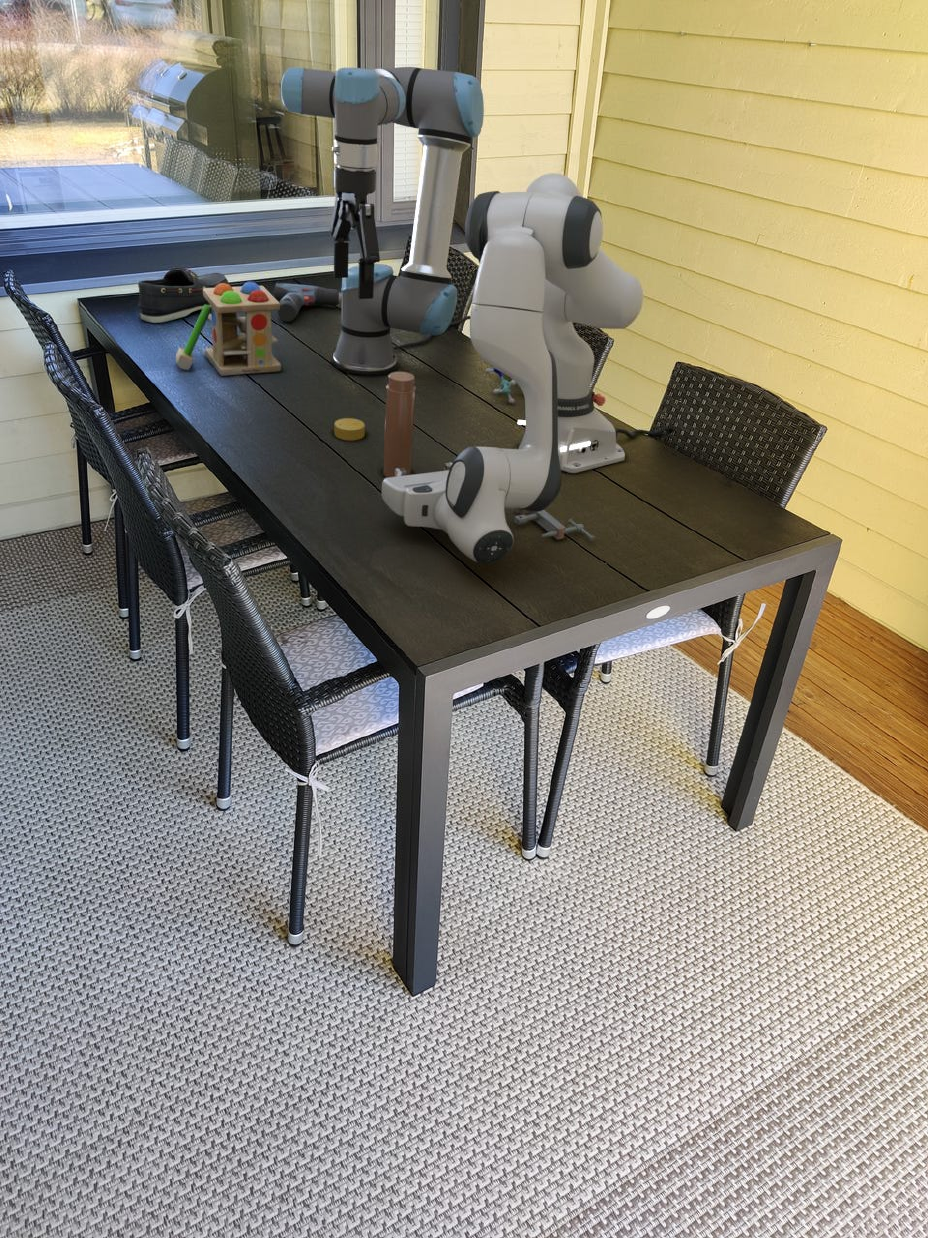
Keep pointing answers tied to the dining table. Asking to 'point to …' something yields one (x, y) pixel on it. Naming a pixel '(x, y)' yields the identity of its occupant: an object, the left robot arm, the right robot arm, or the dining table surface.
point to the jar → (399, 423)
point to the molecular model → (503, 385)
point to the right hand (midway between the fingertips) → (422, 469)
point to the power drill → (302, 298)
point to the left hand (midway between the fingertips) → (352, 287)
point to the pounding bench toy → (229, 347)
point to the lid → (349, 429)
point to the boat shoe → (175, 294)
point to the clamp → (549, 524)
